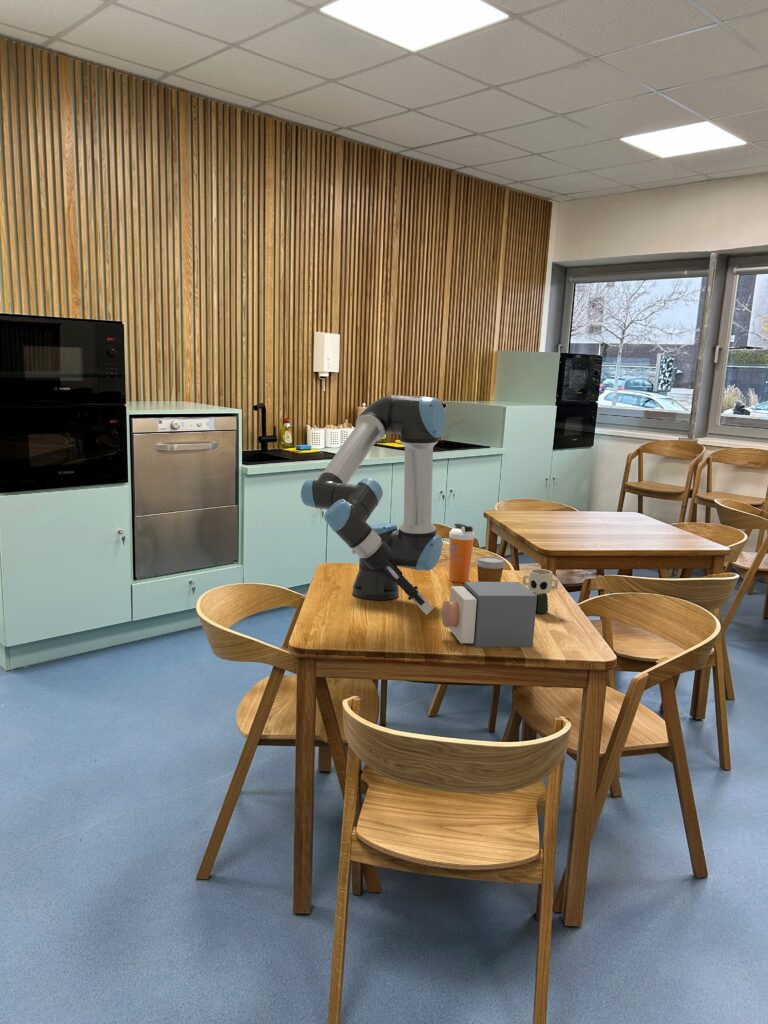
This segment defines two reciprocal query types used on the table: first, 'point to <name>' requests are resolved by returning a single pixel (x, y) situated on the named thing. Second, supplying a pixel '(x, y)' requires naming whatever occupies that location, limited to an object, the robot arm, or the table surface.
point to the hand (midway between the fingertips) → (429, 610)
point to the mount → (503, 614)
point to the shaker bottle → (460, 553)
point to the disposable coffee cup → (489, 569)
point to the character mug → (540, 586)
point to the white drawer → (460, 614)
